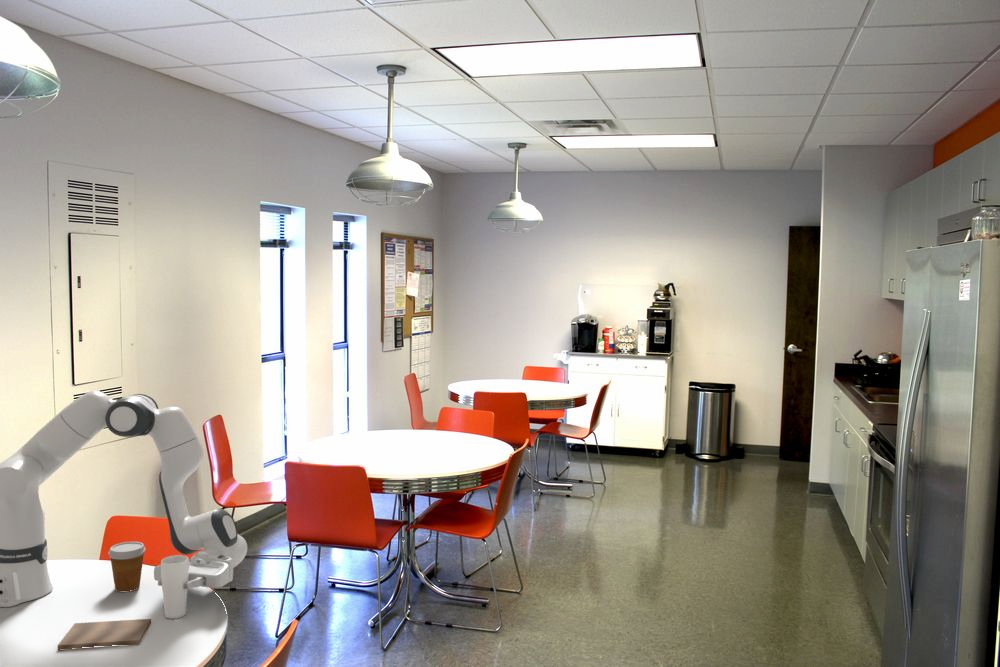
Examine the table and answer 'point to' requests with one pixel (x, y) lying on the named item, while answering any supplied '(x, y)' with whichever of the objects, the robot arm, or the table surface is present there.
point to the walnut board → (105, 633)
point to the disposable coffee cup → (127, 564)
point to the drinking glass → (174, 585)
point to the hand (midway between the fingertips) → (173, 584)
